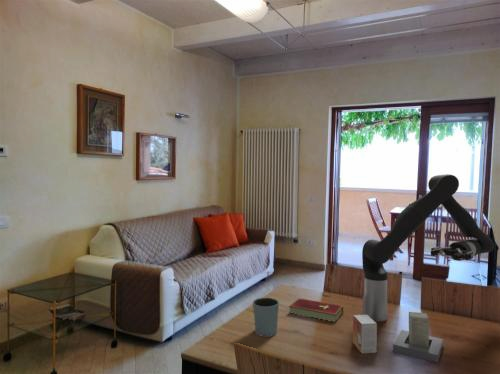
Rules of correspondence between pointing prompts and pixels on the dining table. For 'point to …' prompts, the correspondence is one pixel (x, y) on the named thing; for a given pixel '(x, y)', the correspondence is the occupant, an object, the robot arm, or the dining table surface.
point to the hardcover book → (316, 309)
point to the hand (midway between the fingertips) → (443, 255)
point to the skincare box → (419, 329)
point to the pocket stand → (415, 351)
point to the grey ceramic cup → (266, 316)
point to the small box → (364, 333)
